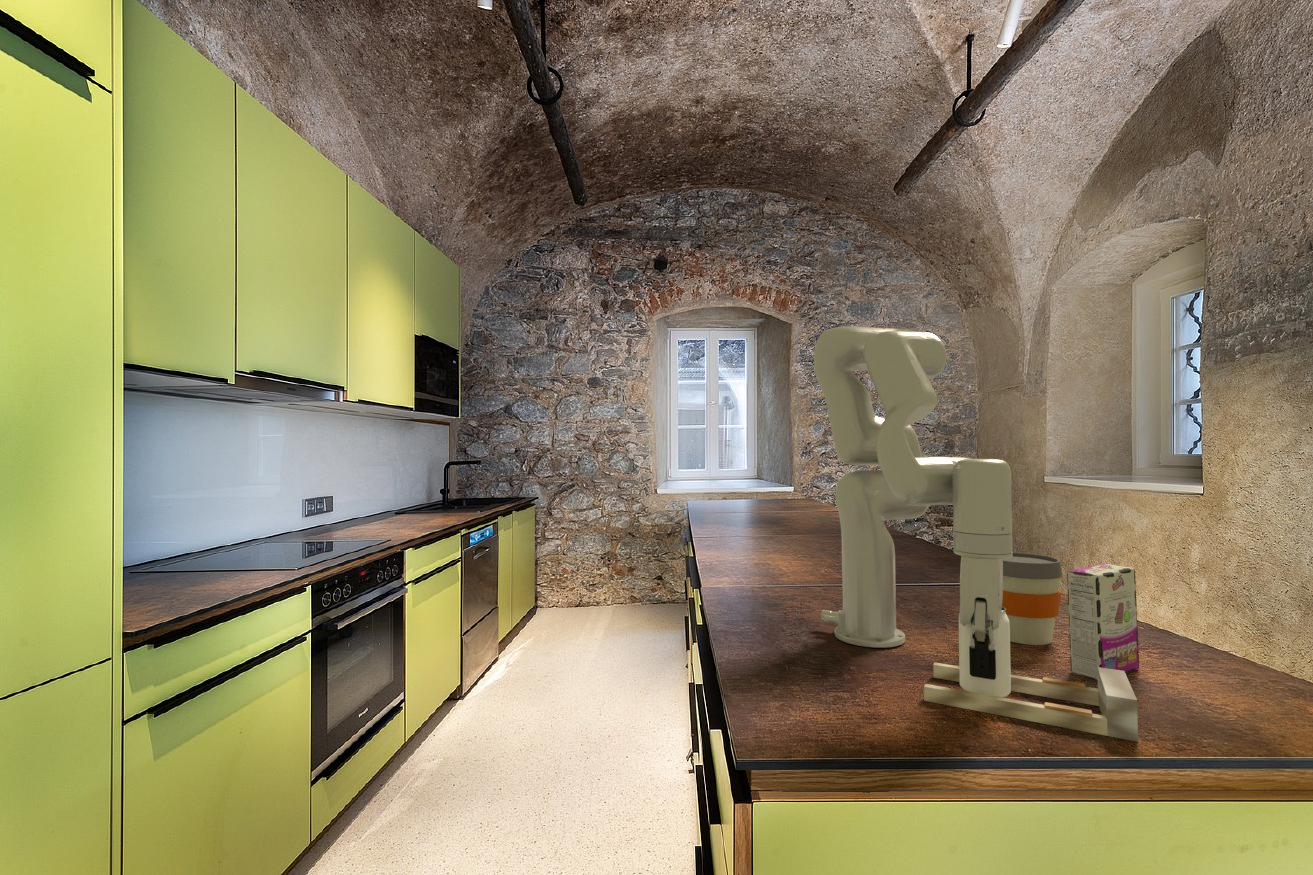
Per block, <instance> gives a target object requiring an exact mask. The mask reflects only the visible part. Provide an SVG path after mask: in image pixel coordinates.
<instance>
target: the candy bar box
mask: <svg viewBox="0 0 1313 875" xmlns="http://www.w3.org/2000/svg"><path fill="white" fill-rule="evenodd" d="M1066 581H1067V583H1066V584H1067V585H1066V586H1067V587H1066V589H1067V607H1068V608H1067V609H1068V632H1069V657H1070V673H1072V674H1074V675H1077V676H1080V675H1081V676H1080V677H1085V678H1087V679H1090V680H1095V681H1098V668H1097V667H1101V668H1108V669H1115V670H1122V671H1125V674H1126V675H1127V674H1129V673H1132V672H1135V671H1137V670H1140V668H1141V667H1140V654H1139V653H1140V652H1139V649H1140V648H1139V631H1138V630H1139V629H1138V628H1139V627H1138V610H1137V609H1138V605H1137V585H1136V583H1137V582H1136V568H1135V567H1130V566H1126V565H1125V566H1124V565H1118V564H1111V563H1101V564H1096V565H1091V566H1085V567H1079V568H1076V569H1071V570H1066Z"/></svg>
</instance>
